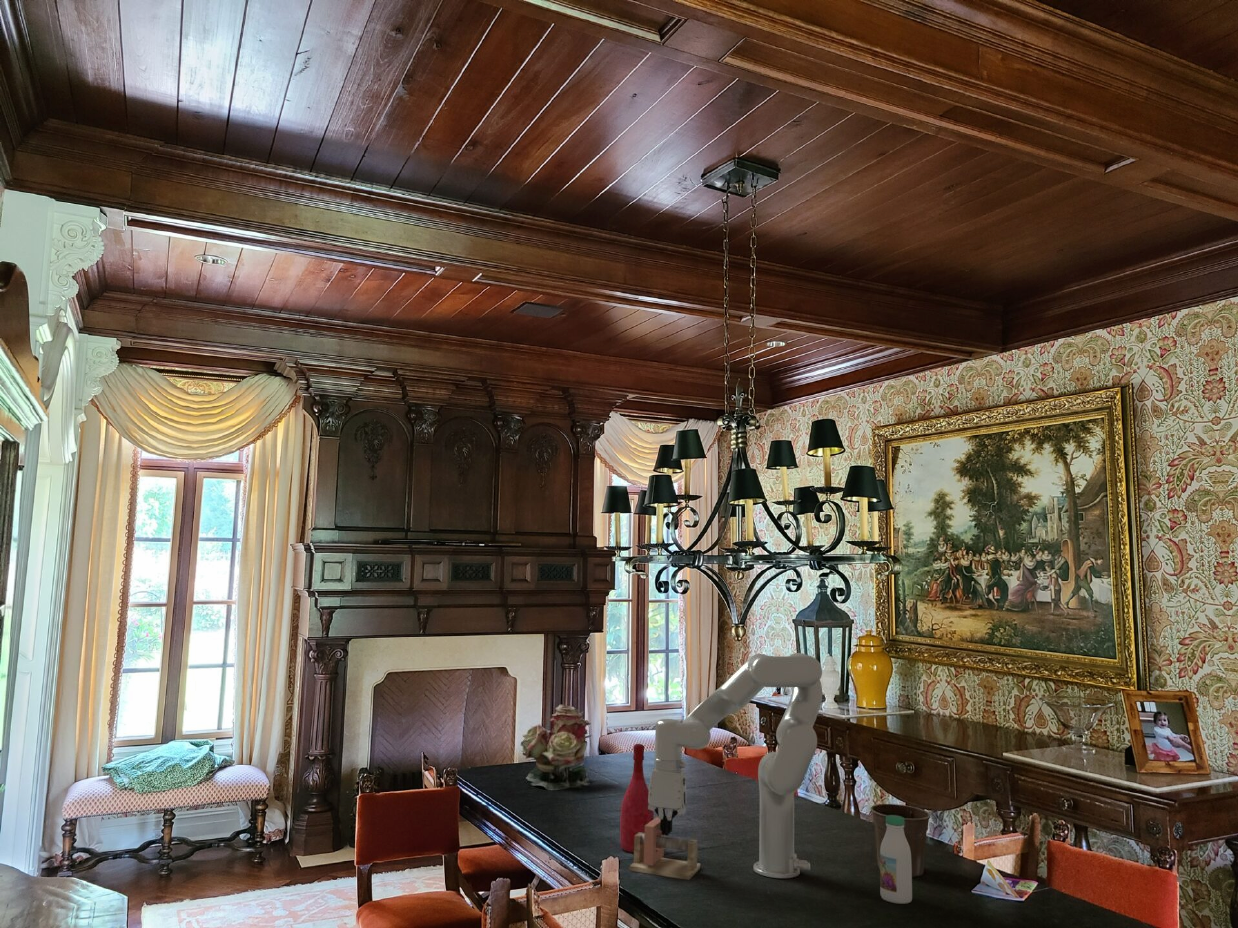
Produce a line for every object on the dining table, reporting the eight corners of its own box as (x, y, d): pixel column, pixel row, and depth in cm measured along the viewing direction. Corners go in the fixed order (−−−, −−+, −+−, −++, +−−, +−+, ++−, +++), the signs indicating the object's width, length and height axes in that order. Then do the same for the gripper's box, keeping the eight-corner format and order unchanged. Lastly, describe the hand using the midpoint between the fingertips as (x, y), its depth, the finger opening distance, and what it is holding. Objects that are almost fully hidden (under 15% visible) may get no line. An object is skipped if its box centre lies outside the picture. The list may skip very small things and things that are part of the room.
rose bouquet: (513, 778, 343) (516, 701, 347) (581, 774, 354) (584, 699, 359) (532, 792, 320) (536, 709, 324) (604, 787, 331) (607, 708, 335)
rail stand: (700, 867, 238) (700, 835, 239) (689, 879, 228) (689, 845, 229) (642, 859, 244) (643, 827, 245) (629, 870, 234) (630, 837, 235)
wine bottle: (624, 854, 248) (627, 747, 252) (615, 844, 257) (618, 741, 262) (657, 852, 250) (659, 746, 255) (647, 843, 260) (649, 740, 264)
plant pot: (942, 872, 241) (941, 812, 243) (914, 884, 230) (913, 821, 232) (889, 857, 253) (888, 800, 255) (860, 868, 242) (859, 808, 244)
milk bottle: (905, 893, 222) (904, 813, 225) (916, 904, 214) (915, 820, 217) (876, 893, 222) (875, 812, 225) (886, 904, 214) (885, 820, 217)
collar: (663, 855, 242) (664, 818, 243) (652, 865, 232) (653, 826, 234) (655, 854, 243) (656, 817, 244) (643, 864, 233) (644, 825, 235)
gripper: (697, 765, 241) (695, 834, 238) (647, 760, 246) (645, 827, 243) (689, 770, 234) (688, 841, 231) (638, 764, 239) (636, 833, 236)
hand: (666, 833), depth 237 cm, fingers closed
